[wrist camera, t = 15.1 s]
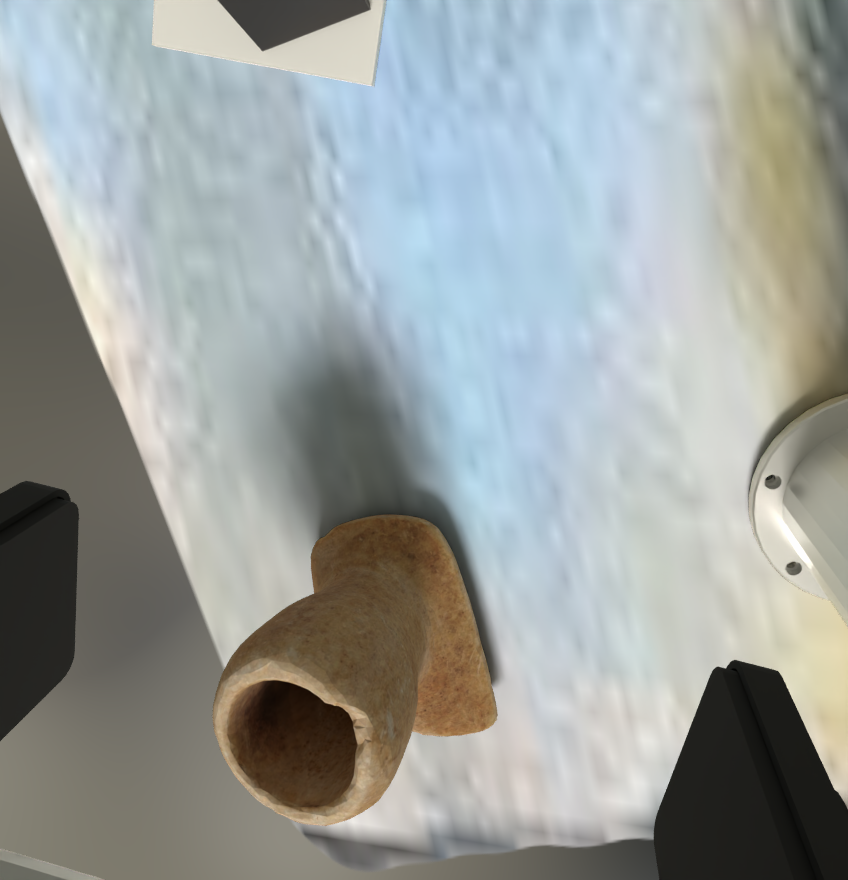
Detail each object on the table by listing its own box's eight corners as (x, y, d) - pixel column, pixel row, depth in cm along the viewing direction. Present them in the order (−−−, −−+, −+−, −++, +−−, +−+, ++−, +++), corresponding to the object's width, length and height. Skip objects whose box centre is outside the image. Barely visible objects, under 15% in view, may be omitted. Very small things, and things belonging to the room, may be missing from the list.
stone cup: (273, 524, 48) (161, 663, 34) (451, 495, 46) (409, 632, 32) (336, 719, 53) (259, 913, 39) (502, 702, 50) (485, 903, 36)
